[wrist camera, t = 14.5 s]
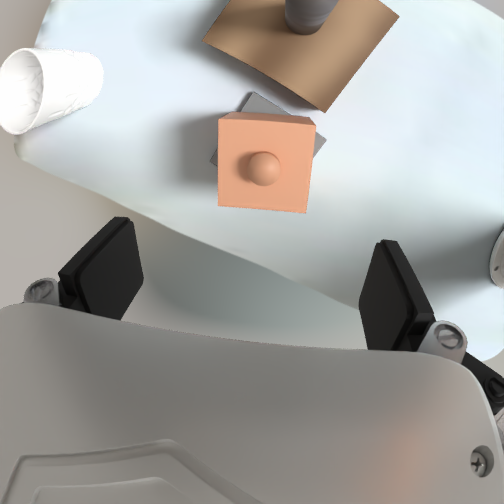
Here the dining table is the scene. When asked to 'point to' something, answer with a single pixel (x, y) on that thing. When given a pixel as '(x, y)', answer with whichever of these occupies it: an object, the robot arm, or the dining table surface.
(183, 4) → the dining table surface
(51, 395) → the robot arm
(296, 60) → the post base
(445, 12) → the dining table surface
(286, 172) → the peach cube
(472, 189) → the dining table surface
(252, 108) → the coaster
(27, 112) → the white cup
